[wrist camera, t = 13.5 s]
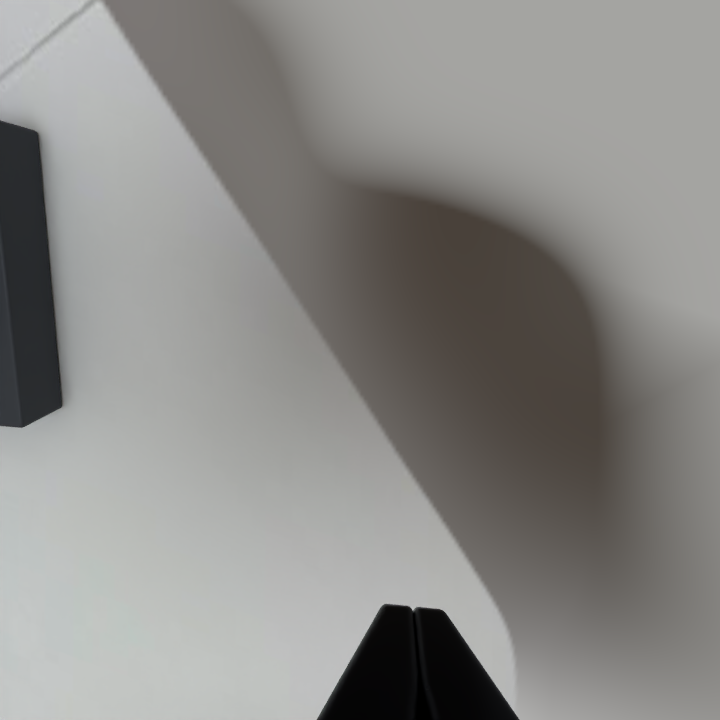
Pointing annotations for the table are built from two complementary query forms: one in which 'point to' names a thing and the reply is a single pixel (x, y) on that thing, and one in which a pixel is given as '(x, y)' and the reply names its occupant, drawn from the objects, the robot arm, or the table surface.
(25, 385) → the button block
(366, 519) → the table surface
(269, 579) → the table surface
